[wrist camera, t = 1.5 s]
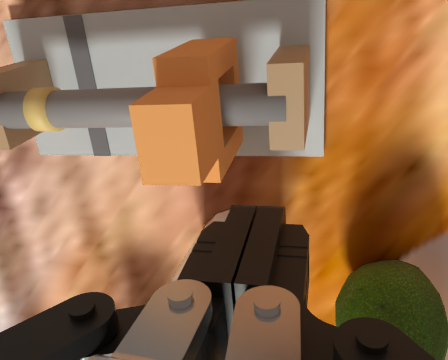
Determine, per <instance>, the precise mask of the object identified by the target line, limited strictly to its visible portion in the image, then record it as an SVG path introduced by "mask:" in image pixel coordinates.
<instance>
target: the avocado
mask: <svg viewBox="0 0 448 360" xmlns="http://www.w3.org/2000/svg"><path fill="white" fill-rule="evenodd" d="M358 317H371V318H377V319H380V320H384V321H386V322H388V323H390V324H392V325H394V326H396V327H397V328H398V329H400V330H401V331H402V332H403V333H405V334H406V335H407V336H408V337H409V338H411V339H412V340H413V341H414V342H415V343H417V344H418V345H419V346H420V347H421V348H423V349H424V350H425V351H426V352H427V353H429V354H430V355H431V356H432V357H434V358H435V359H436V360H445V356H446V352H447V348H448V322H447V317H446V312H445V308H444V305H443V303H442V300H441V297H440V294H439V293H438V292H437V290H436V288H435V287H434V286H433V284H432V283H431V282H430V280H429V279H428V278H427V277H426V276H425V274H424V273H423V272H422V271H421V270H420V269H419V268H418V267H416V266H414V265H412V264H409V263H406V262H403V261H399V260H381V261H377V262H372V263H368V264H364V265H362V266H360V267H359V268H358V269H357V270H355V271H354V272H353V273H351V274H350V275H349V276H348V278H347V280H346V281H345V283H344V285H343V287H342V289H341V291H340V293H339V295H338V297H337V300H336V327H339V326H340V325H341V324H342V323H344V322H346V321H347V320H350V319H353V318H358Z"/></svg>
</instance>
